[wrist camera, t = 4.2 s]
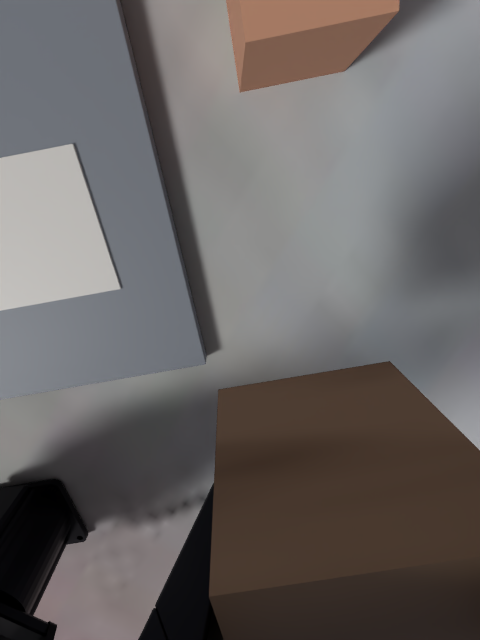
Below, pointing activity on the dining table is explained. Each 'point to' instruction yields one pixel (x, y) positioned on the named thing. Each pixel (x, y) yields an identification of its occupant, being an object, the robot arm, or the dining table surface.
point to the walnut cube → (343, 512)
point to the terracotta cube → (301, 37)
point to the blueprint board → (83, 208)
